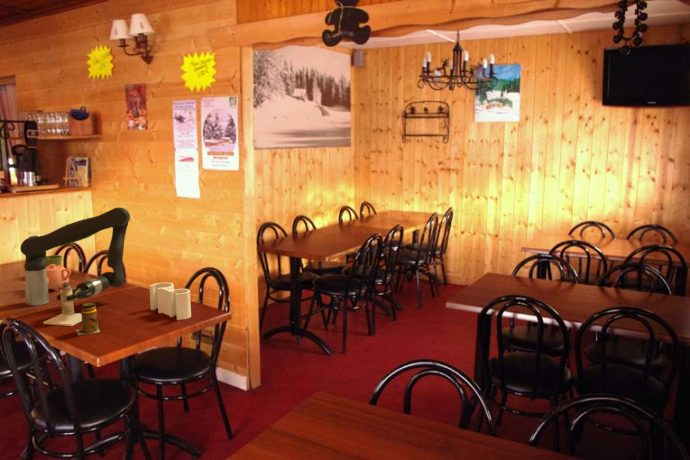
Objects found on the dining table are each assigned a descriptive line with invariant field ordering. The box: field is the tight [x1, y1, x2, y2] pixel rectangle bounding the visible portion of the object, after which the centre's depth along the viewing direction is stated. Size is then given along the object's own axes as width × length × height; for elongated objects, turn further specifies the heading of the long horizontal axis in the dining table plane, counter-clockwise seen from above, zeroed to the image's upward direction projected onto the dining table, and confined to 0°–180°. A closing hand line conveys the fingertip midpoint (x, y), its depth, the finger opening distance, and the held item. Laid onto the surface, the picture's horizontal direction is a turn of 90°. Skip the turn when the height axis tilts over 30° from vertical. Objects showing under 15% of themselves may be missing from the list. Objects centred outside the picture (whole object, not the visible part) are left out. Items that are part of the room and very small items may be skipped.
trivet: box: [42, 312, 82, 327], centre depth 256 cm, size 14×14×1 cm
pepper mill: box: [59, 282, 75, 315], centre depth 254 cm, size 5×5×14 cm
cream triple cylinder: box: [149, 282, 192, 321], centre depth 267 cm, size 25×10×12 cm, turn 47°
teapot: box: [46, 264, 72, 292], centre depth 305 cm, size 16×17×14 cm
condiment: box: [75, 302, 101, 336], centre depth 241 cm, size 7×8×12 cm
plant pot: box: [46, 254, 63, 267], centre depth 332 cm, size 12×12×11 cm
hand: (62, 298), depth 252 cm, fingers closed on pepper mill, 4 cm apart
